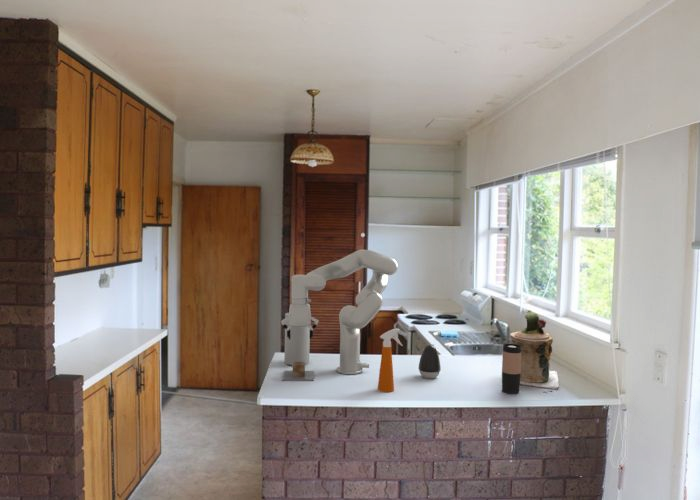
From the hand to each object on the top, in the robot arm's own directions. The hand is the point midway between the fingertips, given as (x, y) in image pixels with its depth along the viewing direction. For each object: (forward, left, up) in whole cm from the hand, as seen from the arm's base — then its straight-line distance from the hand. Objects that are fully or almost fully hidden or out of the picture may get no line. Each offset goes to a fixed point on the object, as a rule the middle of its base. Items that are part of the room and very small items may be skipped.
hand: (300, 338), depth 238 cm
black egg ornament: (-61, 0, -18) cm, 63 cm away
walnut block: (0, 0, -17) cm, 17 cm away
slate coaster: (0, 0, -18) cm, 18 cm away
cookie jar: (-108, +3, -18) cm, 109 cm away
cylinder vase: (+2, -23, -18) cm, 29 cm away
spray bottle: (-40, +19, -18) cm, 47 cm away
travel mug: (-92, +21, -18) cm, 96 cm away
